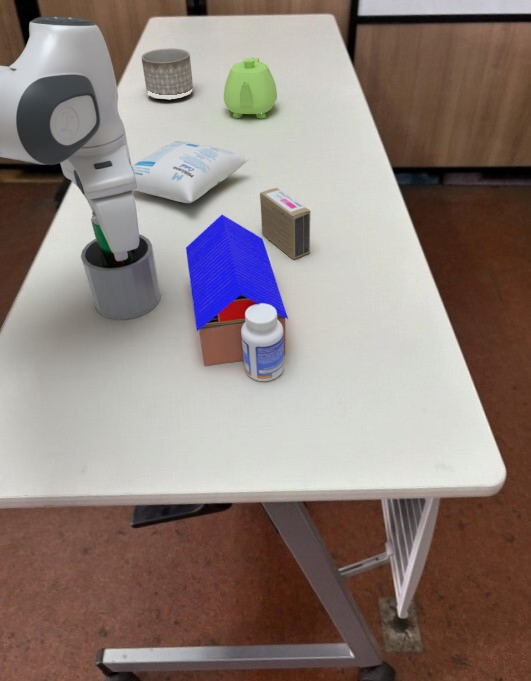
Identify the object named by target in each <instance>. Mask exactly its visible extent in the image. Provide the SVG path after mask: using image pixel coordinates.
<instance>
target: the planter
mask: <svg viewBox="0 0 531 681" xmlns="http://www.w3.org/2000/svg"><path fill="white" fill-rule="evenodd" d="M140 59H141V62H142V70H143V77H144V83H145V90H146V89H147V90H148V91H150V92H152V93H155V94H159V95H177V94H182V93H186V92H188V91H190V90H191V89H192V88H193V89H194V83H193V73H192V63H191V62H192V61H191V54H190V52H189V51H187V50H185V49H181V48H158V49H153V50H150V51H147V52H144V53H143V54H142V55H141V58H140ZM147 90H146V91H147Z"/></svg>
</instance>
